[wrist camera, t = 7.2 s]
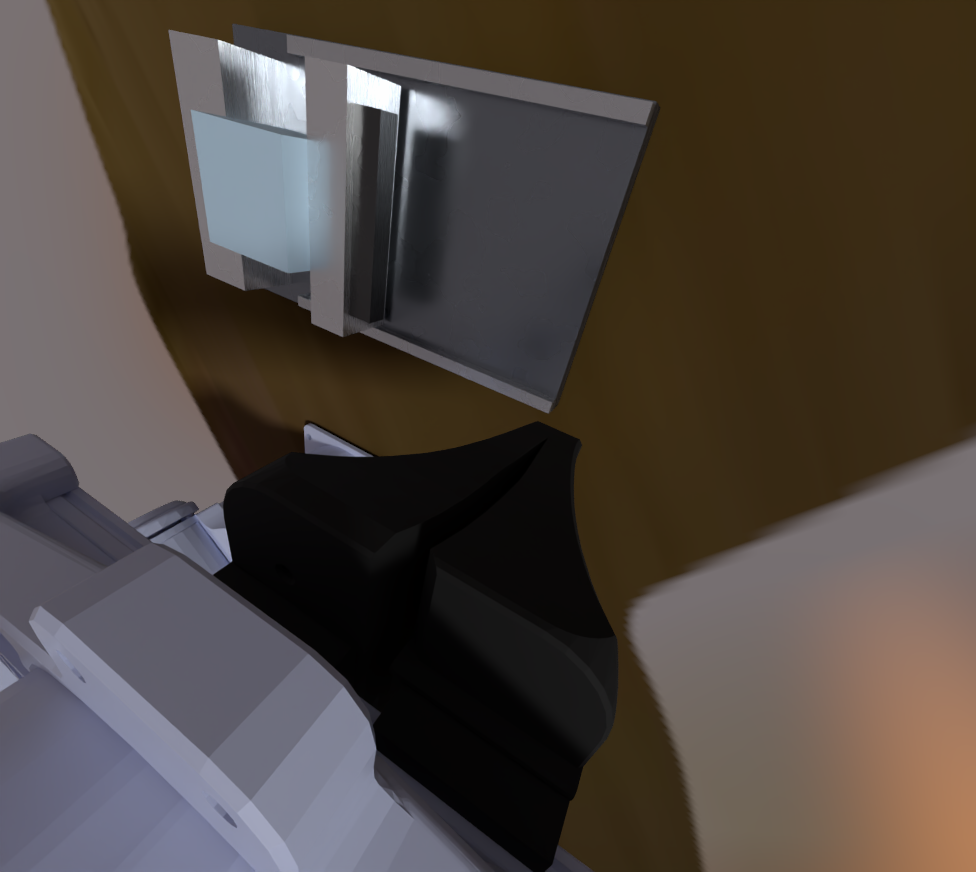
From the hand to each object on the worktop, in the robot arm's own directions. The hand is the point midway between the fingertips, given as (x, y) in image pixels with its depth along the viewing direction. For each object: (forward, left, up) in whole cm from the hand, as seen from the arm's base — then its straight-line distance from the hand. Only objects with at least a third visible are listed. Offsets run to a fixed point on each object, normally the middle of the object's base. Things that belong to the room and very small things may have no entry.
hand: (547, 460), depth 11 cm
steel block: (+3, +17, -8) cm, 19 cm away
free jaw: (+3, +12, -8) cm, 15 cm away
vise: (+3, +12, -9) cm, 16 cm away
